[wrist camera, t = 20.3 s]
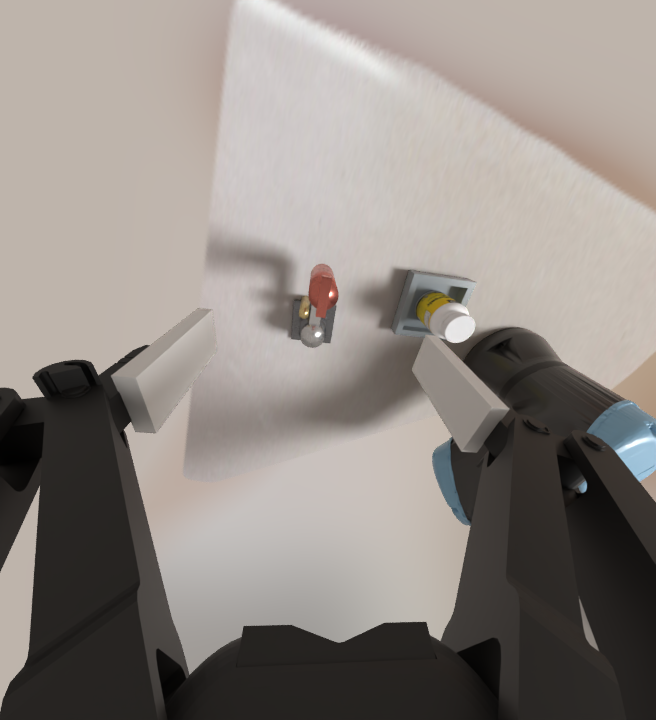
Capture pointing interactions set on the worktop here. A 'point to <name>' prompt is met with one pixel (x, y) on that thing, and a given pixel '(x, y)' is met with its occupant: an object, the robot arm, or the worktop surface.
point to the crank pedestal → (303, 314)
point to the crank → (319, 303)
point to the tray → (417, 287)
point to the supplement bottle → (444, 317)
